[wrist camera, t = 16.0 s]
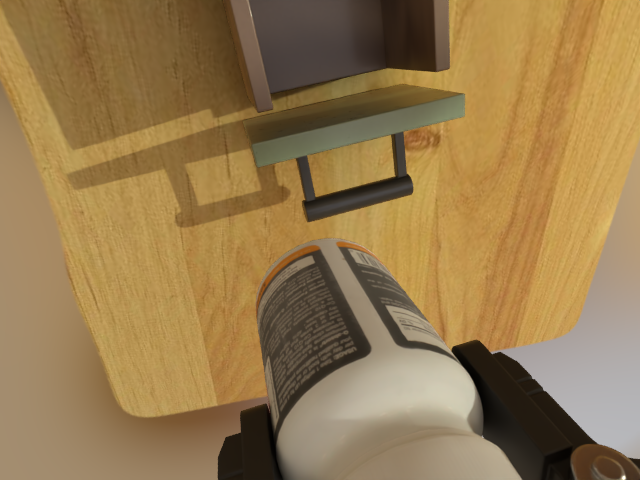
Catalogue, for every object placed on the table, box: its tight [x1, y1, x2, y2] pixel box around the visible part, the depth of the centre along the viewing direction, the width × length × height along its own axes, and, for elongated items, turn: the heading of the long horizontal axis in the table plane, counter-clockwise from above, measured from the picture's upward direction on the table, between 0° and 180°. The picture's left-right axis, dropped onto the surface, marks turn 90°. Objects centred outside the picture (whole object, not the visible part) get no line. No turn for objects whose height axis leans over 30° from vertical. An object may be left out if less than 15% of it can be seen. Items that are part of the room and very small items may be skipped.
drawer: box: [223, 0, 465, 222], centre depth 21 cm, size 20×11×8 cm, turn 11°
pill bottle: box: [256, 238, 522, 480], centre depth 12 cm, size 6×6×10 cm
